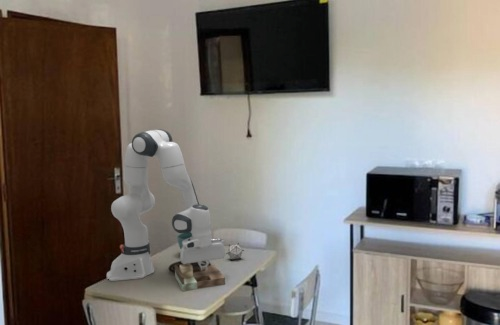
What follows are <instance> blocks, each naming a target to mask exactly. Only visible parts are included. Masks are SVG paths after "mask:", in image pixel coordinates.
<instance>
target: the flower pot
mask: <svg viewBox="0 0 500 325" xmlns="http://www.w3.org/2000/svg"><path fill="white" fill-rule="evenodd" d="M190 237H192V233H191V232H188V233H178V235H177V236H176V239H177V243H178V247H179V250H181V248H182V247H183V245H182V241H183V240H186V239H188V238H190Z"/></svg>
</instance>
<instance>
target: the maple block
mask: <svg viewBox="0 0 500 325" xmlns="http://www.w3.org/2000/svg"><path fill="white" fill-rule="evenodd" d="M193 267H194V266H193V265H192V263H188V264H183V263H182V264H179V266H178V268H179V270H180V271H181V273H182V275H183V277H184V279H186V278H193Z"/></svg>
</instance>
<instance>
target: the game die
mask: <svg viewBox="0 0 500 325" xmlns="http://www.w3.org/2000/svg"><path fill="white" fill-rule="evenodd" d="M239 244H240V243H239V242H238V243H237V244H228V246H229V247H228V250H227V252H225V255H228V256H229V257H230V259H231V260H230V261H231V262H232V261H233V260H237V259H238V260H239V259H240V260H242V258H241V257H242V254H243V252H245V250H244V249H242V247H241V246H240V245H239Z"/></svg>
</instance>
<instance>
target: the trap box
mask: <svg viewBox="0 0 500 325" xmlns="http://www.w3.org/2000/svg"><path fill="white" fill-rule="evenodd" d="M173 266H174V276H175V279H176V281H177V283H178V286H179V287H180V289H181V291H182V292H185V291H186V292H187V291H192V290H197V289H198V290H199V289H204V288H209V287H216V286H222V285H226V277H225V276H224V275H223V274H222V272H221V271H220V270H219V269H218V268H217V266H216V265H215V264H214V265H208V266H207V270H204V271H201V270H200V266H199V267H194V268H193V278H186V279H184V277H183V275H182V273H181V271H180V267H179V266H178V264H174V265H173Z"/></svg>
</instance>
